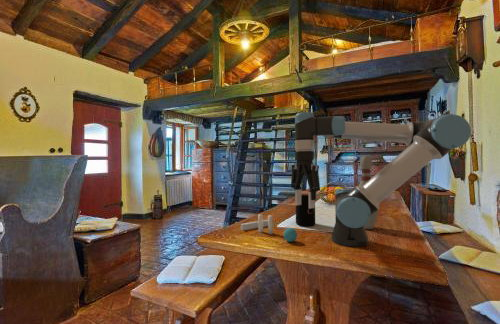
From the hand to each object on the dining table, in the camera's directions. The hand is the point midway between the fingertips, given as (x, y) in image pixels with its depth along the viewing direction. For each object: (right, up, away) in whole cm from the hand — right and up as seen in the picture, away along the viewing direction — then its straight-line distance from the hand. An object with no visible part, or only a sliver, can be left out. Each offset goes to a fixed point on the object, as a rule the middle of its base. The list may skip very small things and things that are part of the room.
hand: (304, 206), depth 107 cm
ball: (-5, -14, +8) cm, 17 cm away
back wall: (-19, -17, +32) cm, 41 cm away
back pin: (-17, -17, +24) cm, 34 cm away
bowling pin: (+38, -16, +29) cm, 50 cm away
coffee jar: (+8, -17, +37) cm, 42 cm away
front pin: (-12, -17, +21) cm, 30 cm away
